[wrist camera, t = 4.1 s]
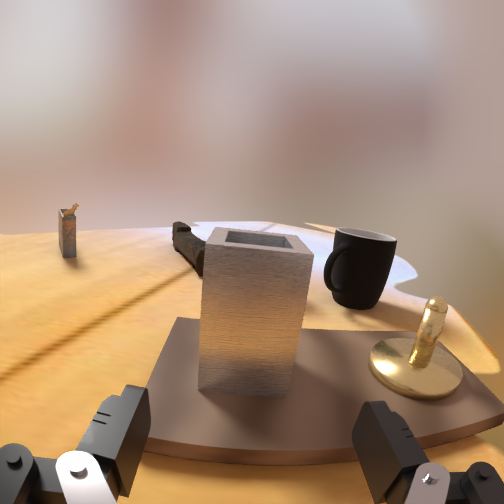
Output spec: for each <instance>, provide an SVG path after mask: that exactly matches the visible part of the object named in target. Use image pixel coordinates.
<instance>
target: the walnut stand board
mask: <svg viewBox="0 0 504 504" xmlns="http://www.w3.org/2000/svg"><path fill="white" fill-rule="evenodd" d="M417 332H418V331H348V330H323V329H303V328H301V332H300V337H299V342H298V347H297V352H296V357H295V362H294V366H293V371H292V376H291V380H290V385H289V389H288V394H287V397H269V396H252V395H238V394H227V393H216V392H207V391H199V390H198V366H199V340H200V319H191V318H183V317H177V319H176V321H175V323H174V325H173V327H172V330H171V332H170V334H169V336H168V338H167V340H166V343H165V345H164V347H163V349H162V351H161V354H160V356H159V358H158V360H157V363H156V365H155V367H154V369H153V372H152V374H151V376H150V378H149V381H148V383H147V385H146V387H145V388H147V389H148V393H149V403H150V412H151V427H150V432H149V435H148V438H147V441H146V444H145V447H144V450H143V451H146V452H151V453H156V454H162V455H167V456H173V457H180V458H186V459H193V460H201V461H210V462H220V463H233V464H250V465H309V464H326V463H339V462H349V461H358V460H359V459H358V456H357V454H356V451H355V448H354V446H353V443H352V430H353V427H354V425H355V422H356V420H357V418H358V415H359V413H360V410H361V408H362V405H363V404H364V402H367V401H380V400H384V401H385V402H386V403H387V405H388V407H389V408H390V410H391V412H394V411H395V412H396V413H398V414H399V415H400V416H401V417H403V418H404V419H405V421H406V423H407V424H408V426H409V429H410V430H411V431H412V433H413V434H414V437H415V438H416V439H417V441H418V443H419V444H420V446H421V448H422V449H425V448H429V447H433V446H437V445H441V444H444V443H448V442H451V441H455V440H458V439H461V438H465V437H468V436H471V435H474V434H477V433H480V432H483V431H485V430H488V429H491V428H494V427H496V426H499V425H501V424H502V423H503V421H504V404H503V403H502V402H501V401H500V400H499V399H498V398H497V397H496V396H495V395H494V394H493V393H492V392H491V391H490V390H489V389H488V388H487V387H486V386H485V385H484V384H483V383H482V382H481V381H480V380H479V379H478V378H477V377H476V376H475V375H474V374H473V373H472V372H471V371H470V370H469V369H468V368H467V367H466V366H465V365H464V364H463V363H462V362H461V361H460V360H459V359H458V358H456V357H455V356H454V355H453V354H452V353H451V352H450V351H449V350H448V349H447V348H446V347H445V346H444V345H443V344H442V343H441V342H439V341H437V344H436V347H439V348H441V349H442V350H444V351H446V352H447V353H449V354H450V355H451V356H453V357H454V358H455V359H456V360H457V361H458V363H459V364H460V366H461V368H462V371H463V377H462V380H461V382H460V384H459V386H458V388H457V390H456V392H455V393H454V394H453V395H451V396H450V397H448V398H445V399H442V400H438V401H420V400H414V399H410V398H406V397H404V396H401V395H399V394H396V393H394V392H392V391H390V390H389V389H387V388H386V387H384V386H383V385H382V384H380V383H379V382H378V381H377V380H376V379H375V378H374V377H373V375H372V374H371V372H370V370H369V367H368V361H369V357H370V354H371V351H372V348H373V347H374V345H375V344H377V343H378V342H380V341H383V340H386V339H391V338H407V339H414V340H415V338H416V335H417Z"/></svg>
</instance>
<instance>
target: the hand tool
mask: <svg viewBox="0 0 504 504" xmlns="http://www.w3.org/2000/svg"><path fill="white" fill-rule="evenodd" d="M172 233H173V237H172V240H173V246H174V249H175V251H179V252H182V254H184V255H185V256H186V257H187V259H188V260H189V261H190V262H192V263H193V264H194V265H195V267H196V268H195V271H196V272H197V274H198V276H203V268H204V255H205V243H206V242H205V241H202V240H201V239H199V238H197V237H196V236H195V235H194V234H192V232H191V228H190V227H189V226H188V225H186V224H185V223H182V222H175V223H173V231H172Z"/></svg>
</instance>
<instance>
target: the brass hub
mask: <svg viewBox="0 0 504 504" xmlns="http://www.w3.org/2000/svg"><path fill="white" fill-rule="evenodd" d="M447 310H448V306H447V303H446V301H445V300H444V299H443V298H442V297H439V296H435V297H432V298H431V299H429V300H428V301H427V303H426V306H425V309H424V313H423V316H422V319H421V323H420V326H419V329H418V332H417V335H416V338H415V340H414V339H407V338H391V339H386V340H383V341H380V342H378V343H377V344H375V345H374V347H373V348H372V351H371V354H370V357H369V361H368V367H369V370H370V372H371V374H372V375H373V377H374V378H375V379H376V380H377V381H378V382H379V383H380V384H382V385H383V386H384V387H386V388H387V389H389V390H390V391H392V392H394V393H396V394H399V395H401V396H404V397H406V398H410V399H414V400H420V401H438V400H442V399H445V398H448V397H450V396H451V395H453V394H454V393H455V392H456V390H457V388H458V386H459V384H460V382H461V380H462V377H463V371H462V368H461V366H460V364H459V363H458V361H457V360H456V359H455V358H454V357H453V356H451V355H450V354H449V353H447V352H446V351H444V350H442V349H441V348H439V347H436V344H437V341H438V338H439V335H440V332H441V329H442V326H443V323H444V320H445V317H446V314H447Z"/></svg>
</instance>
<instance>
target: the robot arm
mask: <svg viewBox="0 0 504 504" xmlns="http://www.w3.org/2000/svg"><path fill="white" fill-rule="evenodd" d="M150 427H151V412H150V403H149V393H148V389H147V388H144V387H138V386H133V385H126V387H125V388H124V390H123V392H122V394H121V396H117V395H111V396H110V397H108V398H107V399H106V400H104V401H103V402H102V404H101V405H100V407H99V409H98V411H97V413H96V414H95V416H94V418H93V421H91V423H90V425H89V427H88V428H87V430H86V432H85V434H84V436H83V438H82V439H81V441H80V443H79V445H78V447H77V448H76V450H75V451H72V452H68V453H65V454H64V455H62V456H61V457H60V458H59V459H49V458H41V457H33V456H32V454H31V452H30V451H29V450H28V449H27V448H26V447H25V446H23V445H20V444H15V443H12V444H7V445H5V446H3V447H1V448H0V504H117V500H118V497H119V495H120V496H124V497H129V494H130V491H131V488H132V484H133V481H134V478H135V475H136V472H137V469H138V465H139V462H140V459H141V456H142V453H143V450H144V447H145V444H146V441H147V438H148V435H149V432H150ZM352 443H353V446H354V448H355V451H356V454H357V456H358V459H359V462H360V464H361V467H362V470H363V472H364V475H365V478H366V481H367V483H368V486H369V489H370V491H371V494H372V497H373V500H374V503H375V504H380V503H385V502H386V503H387V504H504V483H503V481H502V479H501V478H500V476H499V475H498V473H497V471H496V470H495V468H494V467H493V466H492V465H490V464H488V463H486V462H476V463H474V464H472V465H471V466H470V467H469V469H468V470H467V471H466V472H448V470H447V469H446V468H445V467H444V466H442V465H440V464H438V463H433V462H429V460H428V458H427V456H426V455H425V453H424V451H423V450H422V448H421V446H420V444H419V443H418V441H417V439H416V438H415V437H414V434H413V433H412V431H411V430H410V429H409V426H408V424H407V423H406V421H405V419H404V418H403V417H401V416H400V415H399V414H398V413H396V412H395V411H394V412H391V410H390V408H389V407H388V405H387V403H386V402H385V401H384V400H380V401H367V402H364V404H363V405H362V408H361V410H360V413H359V415H358V418H357V420H356V422H355V425H354V427H353V430H352Z"/></svg>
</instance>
